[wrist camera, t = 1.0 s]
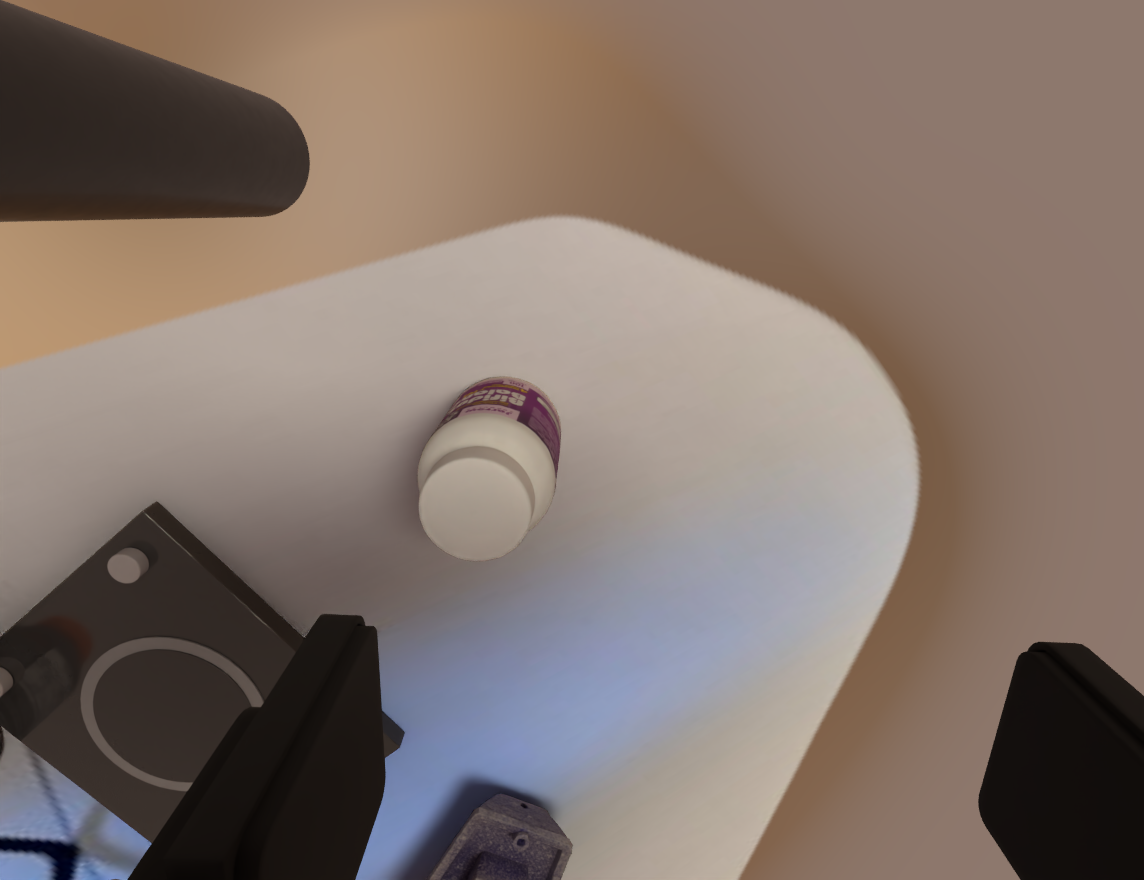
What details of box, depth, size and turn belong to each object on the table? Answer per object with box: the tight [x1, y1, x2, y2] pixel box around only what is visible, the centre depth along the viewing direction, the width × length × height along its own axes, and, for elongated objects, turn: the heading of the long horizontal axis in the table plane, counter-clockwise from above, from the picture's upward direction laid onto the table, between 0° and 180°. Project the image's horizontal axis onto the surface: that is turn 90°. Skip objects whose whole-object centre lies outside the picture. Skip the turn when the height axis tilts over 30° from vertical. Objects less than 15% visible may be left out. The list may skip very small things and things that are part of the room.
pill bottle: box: [417, 377, 561, 561], centre depth 29 cm, size 5×5×10 cm
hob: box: [0, 502, 405, 843], centre depth 37 cm, size 18×16×2 cm
